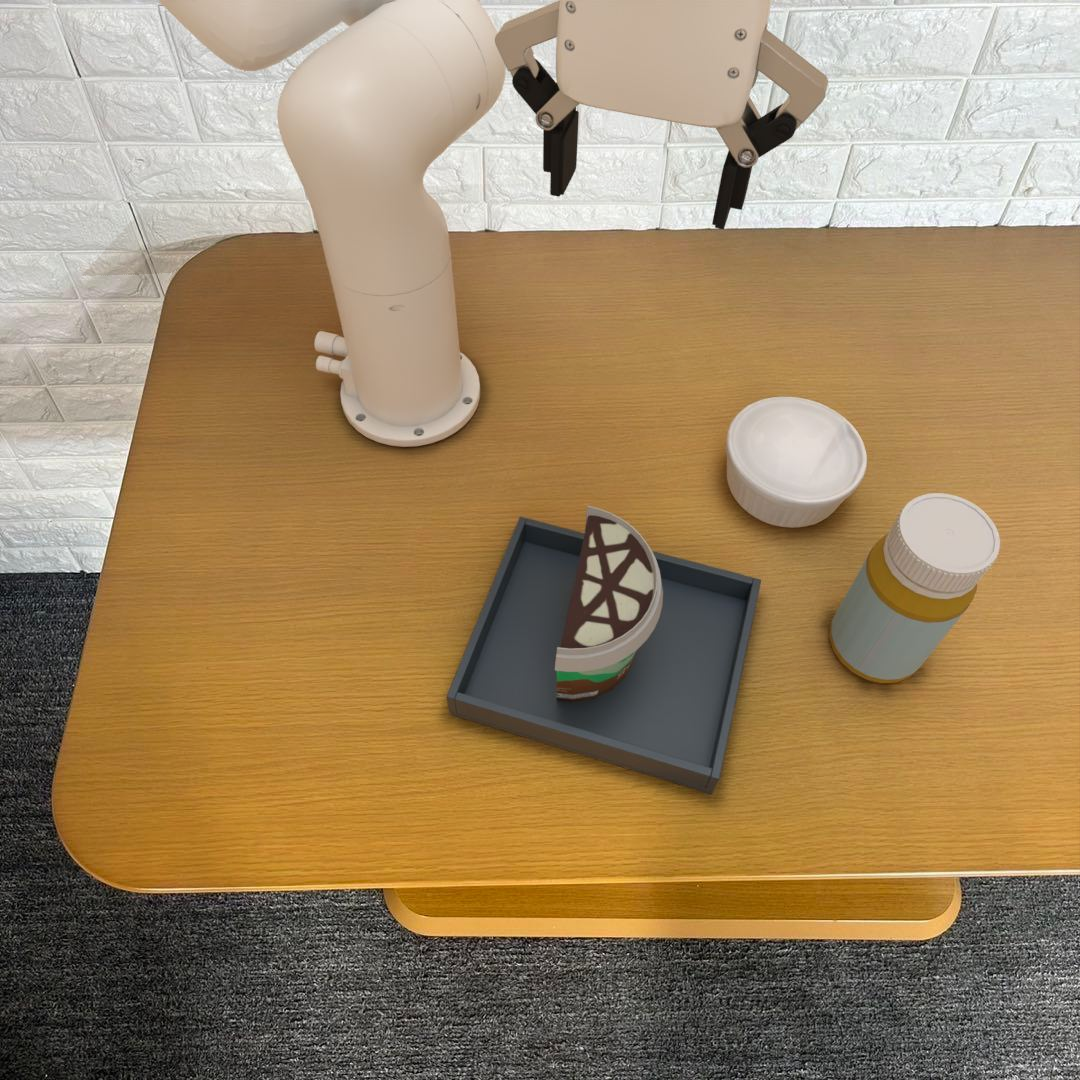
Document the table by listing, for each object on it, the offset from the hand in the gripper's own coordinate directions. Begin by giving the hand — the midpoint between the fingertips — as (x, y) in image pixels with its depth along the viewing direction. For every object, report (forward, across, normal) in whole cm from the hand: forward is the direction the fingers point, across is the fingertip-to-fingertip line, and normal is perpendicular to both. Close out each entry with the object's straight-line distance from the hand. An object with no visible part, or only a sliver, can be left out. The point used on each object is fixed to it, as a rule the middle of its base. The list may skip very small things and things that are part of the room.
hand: (641, 198), depth 53 cm
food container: (+28, -4, +15) cm, 32 cm away
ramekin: (+28, -14, -5) cm, 32 cm away
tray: (+28, -4, +15) cm, 32 cm away
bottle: (+28, -23, +8) cm, 37 cm away
